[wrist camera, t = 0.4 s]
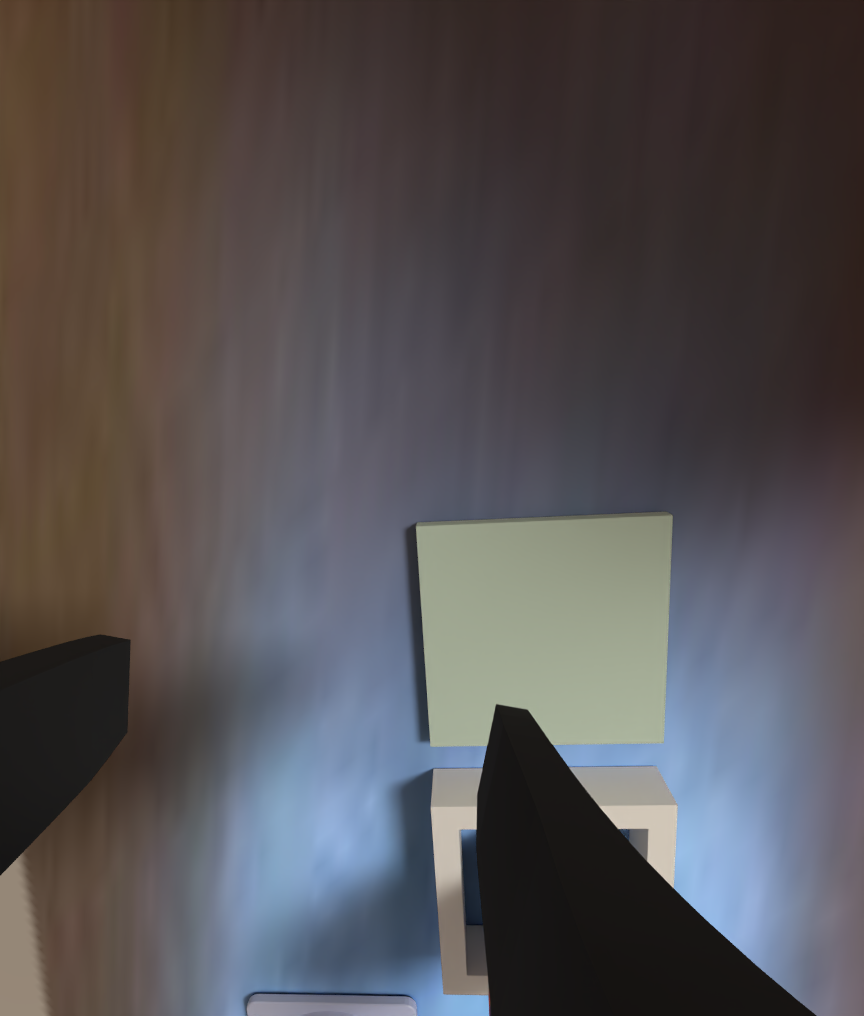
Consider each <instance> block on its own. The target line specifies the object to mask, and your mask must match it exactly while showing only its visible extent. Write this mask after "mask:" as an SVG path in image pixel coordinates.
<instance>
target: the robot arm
mask: <svg viewBox="0 0 864 1016" xmlns="http://www.w3.org/2000/svg"><path fill="white" fill-rule="evenodd" d="M129 668H130V640H129V639H123V638H117V637H111V636H106V635H96V636H91V637H86V638H82V639H77V640H74V641H70V642H66V643H63V644H59V645H55V646H52V647H49V648H45V649H42V650H38V651H35V652H32V653H28V654H25V655H22V656H18V657H15V658H12V659H8V660H5V661H2V662H0V875H1V874H2V873H3V872H4V871H5V870H6V869H7V868H8V867H9V866H10V865H11V864H12V863H13V862H14V861H15V860H16V859H17V858H18V857H19V856H20V855H21V854H22V853H23V852H24V850H25V849H26V848H27V847H28V846H29V845H30V844H31V843H32V842H33V841H34V840H35V839H36V838H37V837H38V836H39V835H40V834H41V833H42V832H43V831H44V830H45V829H46V828H47V827H48V826H49V825H50V823H51V822H52V821H53V820H54V819H55V818H56V817H57V816H58V815H59V814H60V813H61V812H62V811H63V810H64V809H65V808H66V807H67V806H68V804H69V803H70V802H71V801H72V800H73V799H74V798H75V797H76V796H77V795H78V794H79V793H80V792H81V791H82V790H83V788H84V787H85V786H86V785H87V784H88V783H89V782H90V781H91V780H92V778H93V777H94V776H95V774H96V773H97V772H98V771H99V769H100V768H101V767H102V765H103V764H104V763H105V762H106V760H107V759H108V758H109V756H110V755H111V754H112V752H113V751H114V750H115V748H116V747H117V745H118V744H119V743H120V741H121V740H122V739H123V737H124V736H125V734H126V733H127V725H128V697H129ZM476 853H477V865H478V876H479V887H480V898H481V909H482V920H483V930H484V941H485V952H486V962H487V973H488V983H489V994H490V1007H491V1016H816V1015H815V1014H814V1013H813V1012H811V1011H810V1010H809V1009H808V1008H806V1007H805V1006H804V1005H803V1004H801V1003H800V1002H799V1001H798V1000H796V999H795V998H794V997H793V996H792V995H791V994H789V993H788V992H787V991H786V990H785V989H783V988H782V987H781V986H780V985H779V984H778V983H776V982H775V981H774V980H773V979H772V978H770V977H769V976H768V975H767V974H766V973H765V972H763V971H762V970H761V969H760V968H759V967H758V966H756V965H755V964H754V963H753V962H752V961H751V960H750V959H749V958H747V957H746V956H745V955H744V954H743V953H742V952H741V951H740V950H739V949H737V948H736V947H735V946H734V945H733V944H732V943H731V942H730V941H729V940H728V939H726V938H725V937H724V936H723V935H722V934H721V933H720V932H719V931H718V930H716V929H715V928H714V927H713V926H712V925H711V924H710V923H709V922H708V921H707V920H705V919H704V918H703V917H702V916H701V915H700V914H699V913H698V912H697V911H696V910H695V909H694V908H693V907H692V906H691V905H690V904H689V903H688V902H687V901H686V900H685V899H684V898H683V897H682V896H681V895H680V894H679V893H678V892H677V891H676V890H675V889H674V888H673V887H672V886H671V885H670V884H669V883H668V882H667V881H666V880H665V879H664V878H663V877H662V876H661V875H660V874H659V873H658V872H657V871H656V870H655V869H654V868H653V867H652V866H651V865H650V864H649V863H648V862H647V861H646V860H645V858H644V857H643V856H642V855H641V854H640V853H639V852H638V851H637V850H636V849H635V848H634V846H633V845H632V844H631V843H630V842H629V841H628V840H627V839H626V838H625V836H624V835H623V834H622V833H621V832H620V830H619V829H618V828H617V827H616V826H615V825H614V823H613V822H612V821H611V820H610V819H609V818H608V816H607V815H606V814H605V813H604V812H603V811H602V809H601V808H600V807H599V806H598V804H597V803H596V802H595V801H594V799H593V798H592V797H591V796H590V794H589V793H588V792H587V791H586V789H585V788H584V787H583V785H582V784H581V783H580V782H579V780H578V779H577V778H576V776H575V775H574V774H573V772H572V771H571V770H570V768H569V767H568V766H567V764H566V763H565V762H564V760H563V759H562V757H561V756H560V755H559V753H558V752H557V750H556V749H555V748H554V746H553V745H552V743H551V742H550V741H549V739H548V738H547V736H546V735H545V733H544V732H543V731H542V729H541V728H540V726H539V725H538V723H537V722H536V721H535V719H534V718H533V716H532V715H531V713H530V712H529V711H528V709H522V708H516V707H511V706H505V705H499V704H496V707H495V711H494V716H493V721H492V726H491V731H490V735H489V740H488V745H487V750H486V755H485V759H484V764H483V769H482V774H481V779H480V783H479V788H478V793H477V830H476ZM247 1015H248V1016H417V1005H416V1002H415V1001H414V1000H413V999H412V998H410V997H406V996H358V995H302V994H255V995H253V996H251V997H250V999H249V1002H248V1004H247Z"/></svg>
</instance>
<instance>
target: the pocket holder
mask: <svg viewBox="0 0 864 1016" xmlns="http://www.w3.org/2000/svg"><path fill="white" fill-rule="evenodd" d="M569 768H570V770H571V771H572V772H573V774H574V775H575V776H576V778H577V779H578V780H579V782H580V783H581V784H582V785H583V787H584V788H585V789H586V791H587V792H588V793H589V794H590V796H591V797H592V798H593V799H594V801H595V802H596V803H597V804H598V806H599V807H600V808H601V809H602V811H603V812H604V813H605V814H606V815H607V816H608V818H609V819H610V820H611V821H612V822H613V823H614V825H615V826H616V827H617V828H618V829H629V842H630V843H631V844H632V845H633V846H634V848H635V849H636V850H637V851H638V852H639V853H640V854H641V855H642V856H643V857H644V858H645V860H646V861H647V862H648V863H649V864H650V865H651V866H652V867H653V868H654V869H655V870H656V871H657V872H658V873H659V874H660V875H661V876H662V877H663V878H664V879H665V880H666V881H667V882H668V883H669V884H670V885H671V886H672V887H673V888H674V869H675V848H676V827H677V806H678V805H677V803H676V801H675V800H674V798H673V796H672V794H671V792H670V790H669V789H668V787H667V785H666V783H665V781H664V779H663V777H662V776H661V774H660V772H659V770H658V768H657V766H628V767H569ZM482 769H483V768H458V769H433V783H432V797H431V818H432V832H433V847H434V862H435V876H436V891H437V906H438V920H439V935H440V950H441V964H442V979H443V994H450V995H488V975H487V962H486V952H485V941H484V930H483V925H466V912H465V894H464V876H463V857H462V839H461V829H477V793H478V788H479V783H480V779H481V774H482Z"/></svg>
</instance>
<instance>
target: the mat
mask: <svg viewBox="0 0 864 1016" xmlns="http://www.w3.org/2000/svg"><path fill="white" fill-rule="evenodd" d="M672 523H673V515H671V514H670V513H668V512H645V513H622V514H599V515H576V516H554V517H531V518H508V519H486V520H463V521H440V522H417V525H416V535H417V550H418V565H419V580H420V595H421V610H422V625H423V640H424V655H425V670H426V685H427V700H428V715H429V730H430V746H431V747H437V746H487V745H488V740H489V735H490V731H491V726H492V721H493V716H494V711H495V707H496V704H499V705H505V706H511V707H516V708H522V709H528V711H529V712H530V713H531V715H532V716H533V718H534V719H535V721H536V722H537V723H538V725H539V726H540V728H541V729H542V731H543V732H544V733H545V735H546V736H547V738H548V739H549V741H550V742H551V743H552V745H574V744H642V743H664V722H665V697H666V672H667V647H668V622H669V597H670V572H671V547H672Z"/></svg>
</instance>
